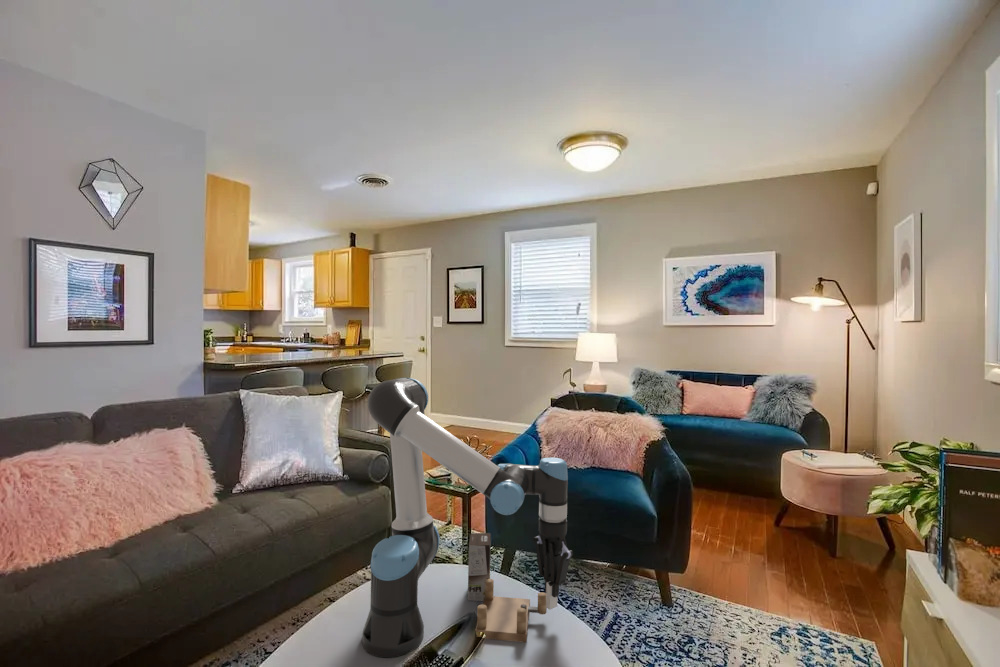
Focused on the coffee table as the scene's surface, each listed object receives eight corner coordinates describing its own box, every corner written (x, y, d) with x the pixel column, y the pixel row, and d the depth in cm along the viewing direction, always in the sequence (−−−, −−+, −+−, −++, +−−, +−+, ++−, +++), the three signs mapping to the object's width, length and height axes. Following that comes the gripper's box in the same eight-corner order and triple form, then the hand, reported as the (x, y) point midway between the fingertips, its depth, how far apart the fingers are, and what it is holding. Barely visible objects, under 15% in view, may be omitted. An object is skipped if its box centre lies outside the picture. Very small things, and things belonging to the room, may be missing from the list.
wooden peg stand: (475, 637, 117) (475, 609, 117) (484, 602, 133) (485, 578, 133) (526, 642, 116) (526, 614, 116) (529, 606, 131) (530, 581, 132)
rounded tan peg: (527, 613, 124) (528, 595, 124) (528, 608, 126) (528, 591, 126) (546, 614, 123) (546, 597, 123) (546, 609, 126) (546, 592, 126)
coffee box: (489, 601, 134) (490, 545, 134) (467, 601, 134) (468, 544, 134) (490, 585, 143) (491, 532, 143) (469, 584, 143) (470, 532, 143)
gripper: (580, 522, 120) (579, 613, 120) (546, 507, 131) (545, 591, 130) (560, 528, 116) (559, 623, 115) (526, 513, 126) (524, 600, 126)
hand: (551, 606), depth 123 cm, fingers closed
